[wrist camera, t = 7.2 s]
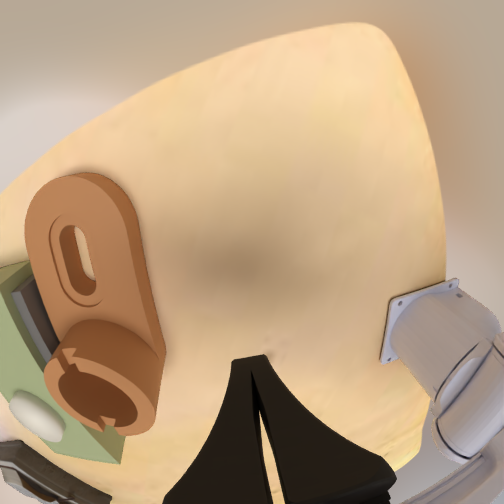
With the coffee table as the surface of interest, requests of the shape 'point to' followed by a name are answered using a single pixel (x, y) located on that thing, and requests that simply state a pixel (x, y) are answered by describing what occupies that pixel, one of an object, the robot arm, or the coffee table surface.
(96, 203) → the bracket
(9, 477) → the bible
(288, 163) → the coffee table surface
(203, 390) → the coffee table surface
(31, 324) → the green box with button
